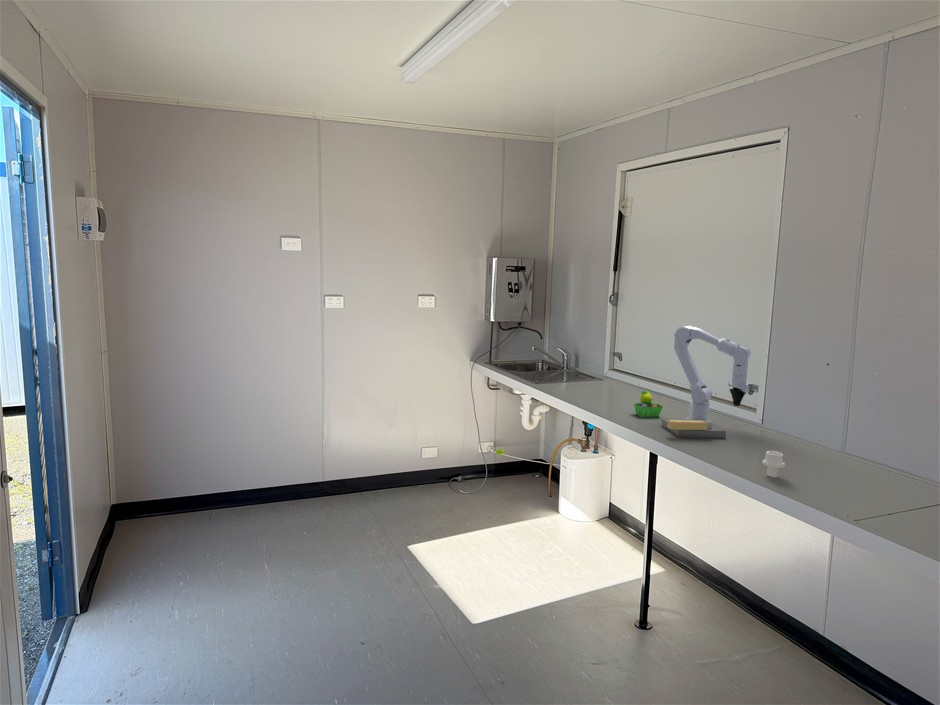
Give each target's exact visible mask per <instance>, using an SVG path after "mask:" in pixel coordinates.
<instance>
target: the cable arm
mask: <svg viewBox="0 0 940 705" xmlns="http://www.w3.org/2000/svg"><path fill="white" fill-rule="evenodd" d="M712 423H713V421H711V420H709V419H708V420H668V424H667V427H668V428H670V429H684V430H712Z"/></svg>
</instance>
